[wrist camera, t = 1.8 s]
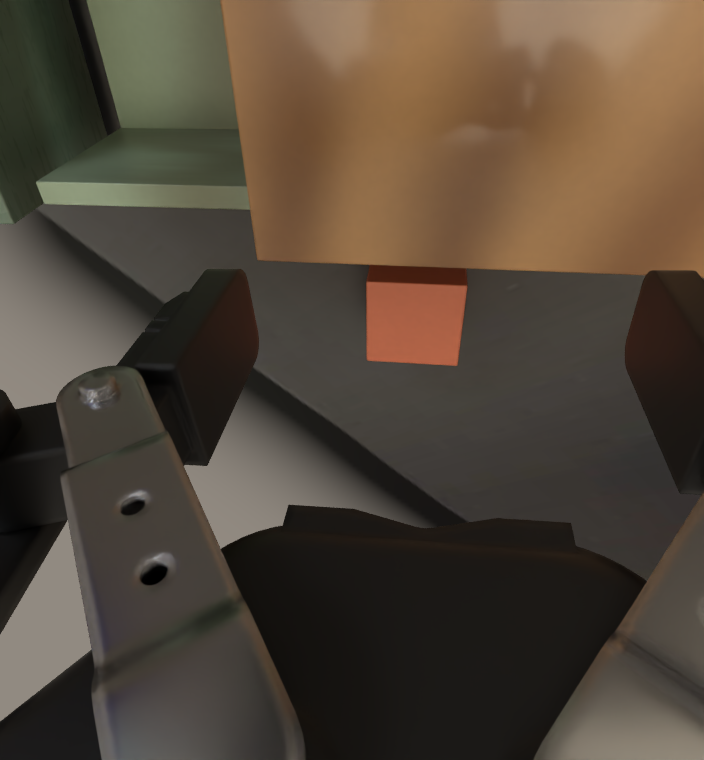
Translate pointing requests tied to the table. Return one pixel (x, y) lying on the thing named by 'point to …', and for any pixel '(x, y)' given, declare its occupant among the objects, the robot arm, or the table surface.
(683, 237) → the wooden drawer cabinet
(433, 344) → the block
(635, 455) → the table surface
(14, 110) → the storage drawer
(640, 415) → the table surface
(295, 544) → the robot arm
